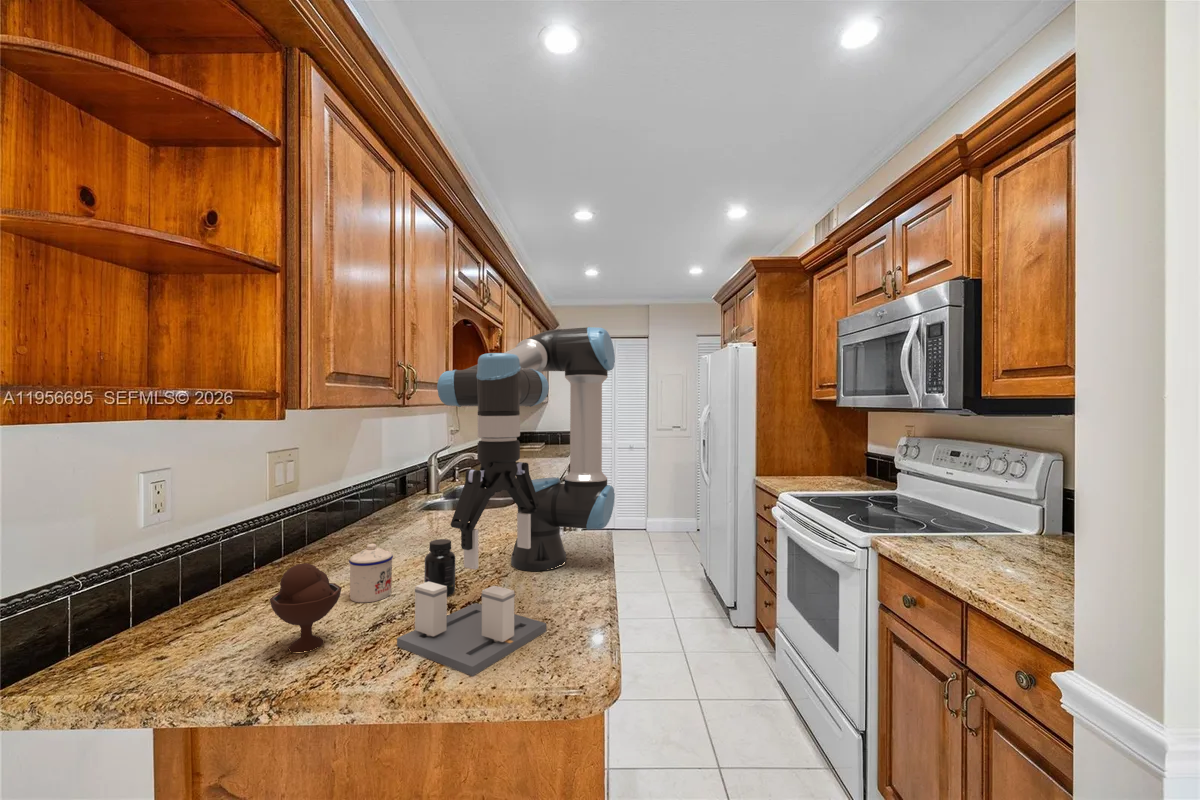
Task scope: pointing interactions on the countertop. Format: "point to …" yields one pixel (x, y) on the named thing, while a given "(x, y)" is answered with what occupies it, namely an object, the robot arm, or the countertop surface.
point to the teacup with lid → (370, 574)
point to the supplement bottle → (440, 565)
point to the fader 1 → (431, 608)
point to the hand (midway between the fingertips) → (499, 557)
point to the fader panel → (469, 641)
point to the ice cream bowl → (305, 602)
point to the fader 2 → (498, 613)
